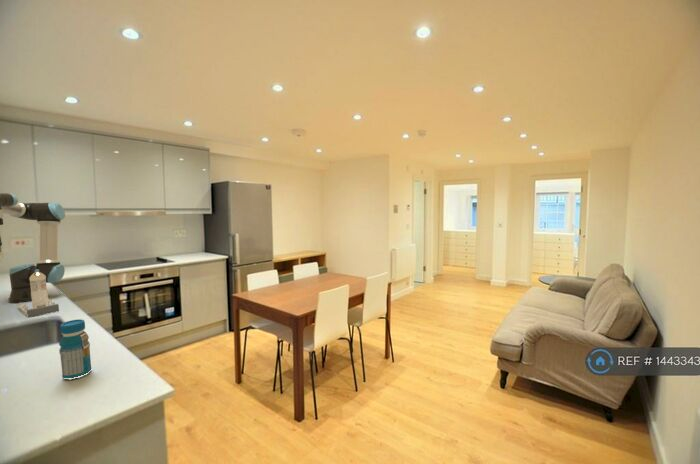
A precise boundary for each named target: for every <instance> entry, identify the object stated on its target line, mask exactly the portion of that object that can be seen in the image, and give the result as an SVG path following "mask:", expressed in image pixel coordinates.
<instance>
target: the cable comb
mask: <svg viewBox="0 0 700 464" xmlns="http://www.w3.org/2000/svg"><path fill="white" fill-rule="evenodd" d="M48 303H49V305H54V304H56V302H55V301H53V300H52V299H50V298H49V297H48ZM17 307H18V308H17V309H18V310H19V311H20V312H21V313H22V314H23V315H25V316H26V317H27V318H28V314H27V310H29V307H28V306H26V304H24V302H21V303H18V306H17Z"/></svg>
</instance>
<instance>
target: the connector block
mask: <svg viewBox="0 0 700 464" xmlns="http://www.w3.org/2000/svg"><path fill="white" fill-rule="evenodd" d="M59 306H60V305H59V304H58V303H55V304H54V305H49V306H44V307H39V308H34V309H33V308H30V309H29V308H28V310H27V314H28V317H27V318H33V317H37V316H42V315H48V314H52V313H57V312H59V311H60V307H59ZM56 311H57V312H56ZM51 312H52V313H51ZM47 313H48V314H47Z"/></svg>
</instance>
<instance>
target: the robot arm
mask: <svg viewBox="0 0 700 464" xmlns="http://www.w3.org/2000/svg"><path fill="white" fill-rule="evenodd" d="M3 214H7V215H9V216H11V217H13V218H18V219H22V220H28V221H30V220H31V221H36V222H37V224H38V225H39V260H38V261H37V262H36V265H35V264H34V263H28V264H22V265H18V266H13V267H10V268H9V274H8V276H9V280H10V281H9V282H10V287H11V291H10V294H9V297H8V303H9V304H17V303H18V304H19V303H26V302H32V298H31V286H30V280H29V278H30V276H31V275H32V274H34V273H35V270H39V272H40V273H43V274H44V275H45V276H46V284H48V283H49V284H52V283H57V282H60V281H61V280H62V278H64V275H65V270H66V269H65V267H64V265H63V264H61V261H60V260H58V225H60V224H61V221H62V220H64V219H65V218H66V217H65V216H66V212H65V209H64V207H63V206H62V205H61V204H60V203H58V202H27V203H26V202H19V198H18V197H17V195H15V194H13V193H9V192H7V193H6V192H4V193H3V192H2V193H1V192H0V226H2V225H4V219H3ZM2 245H3V242H2V237H1V236H0V259H3V257H4V256H3V255H4V254H3V249H2Z"/></svg>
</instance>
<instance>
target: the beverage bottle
mask: <svg viewBox="0 0 700 464" xmlns="http://www.w3.org/2000/svg"><path fill="white" fill-rule="evenodd" d="M59 328H60V330H59V331H60V334H61V335H62V336H61V337H60V340H59V342H58V345H59V346H60V347H59V349H58V351H59V352H58V353H59V355H60V357H59V358H60V364H61V373H62V374H61V377H62V379H63V378H74V377H78V376H81V375H84V374H86V373H88V372H89V371H90V370H91V369H92V364H91V363H92V362H91V359H92V358H91V349H90V346H91V344H90V341H89V339H90V338H89V337H90V336H89V335H88V333H87V332H86V331H85V329H86V322H85V320H84V319H80V318H79V319H73V320H68V321H65V322H63V323H61V324H60V326H59ZM91 371H92V370H91Z"/></svg>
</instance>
